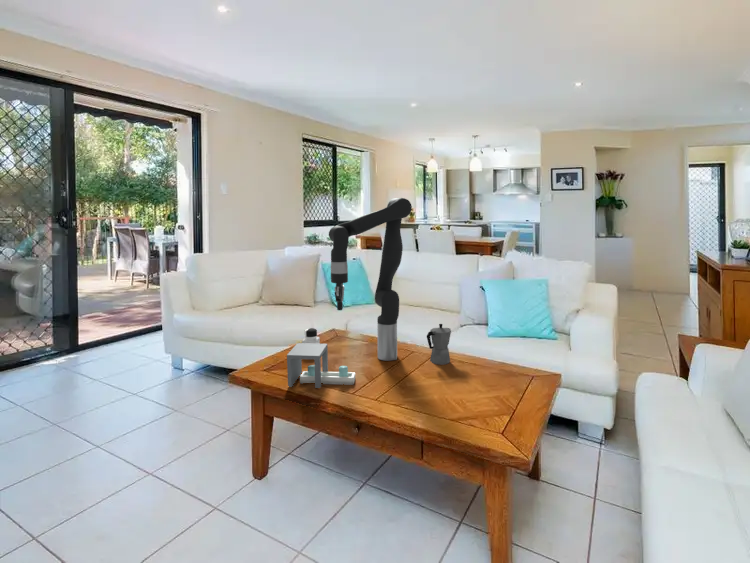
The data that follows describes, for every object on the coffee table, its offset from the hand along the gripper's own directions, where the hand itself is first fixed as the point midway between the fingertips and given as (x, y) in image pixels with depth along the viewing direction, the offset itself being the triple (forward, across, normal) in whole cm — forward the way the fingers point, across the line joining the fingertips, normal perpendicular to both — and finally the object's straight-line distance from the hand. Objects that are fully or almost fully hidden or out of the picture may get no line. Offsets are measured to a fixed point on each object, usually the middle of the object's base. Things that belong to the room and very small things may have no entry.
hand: (339, 309), depth 201 cm
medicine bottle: (+26, +16, +17) cm, 35 cm away
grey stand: (+25, -20, +10) cm, 34 cm away
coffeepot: (+26, +6, -45) cm, 52 cm away
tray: (+25, -21, +2) cm, 33 cm away
